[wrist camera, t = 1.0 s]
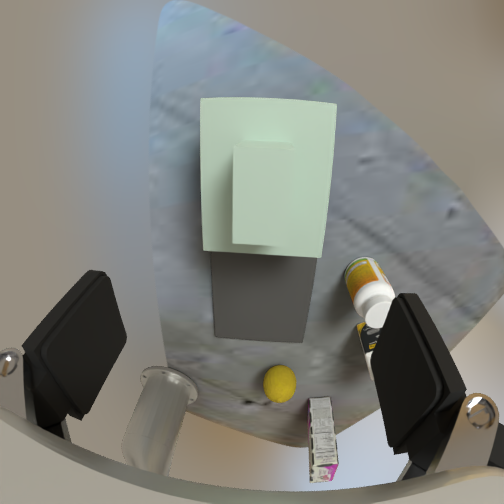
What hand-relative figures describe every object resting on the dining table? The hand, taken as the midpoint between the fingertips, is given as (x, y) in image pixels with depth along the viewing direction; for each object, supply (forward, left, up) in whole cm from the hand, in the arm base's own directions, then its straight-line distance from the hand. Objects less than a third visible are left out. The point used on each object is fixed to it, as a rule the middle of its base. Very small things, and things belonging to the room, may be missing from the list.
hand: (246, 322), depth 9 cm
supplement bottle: (-14, -14, -28) cm, 34 cm away
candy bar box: (-49, -14, -28) cm, 57 cm away
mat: (-18, 0, -27) cm, 32 cm away
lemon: (-34, -4, -28) cm, 43 cm away
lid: (0, 0, -19) cm, 19 cm away
